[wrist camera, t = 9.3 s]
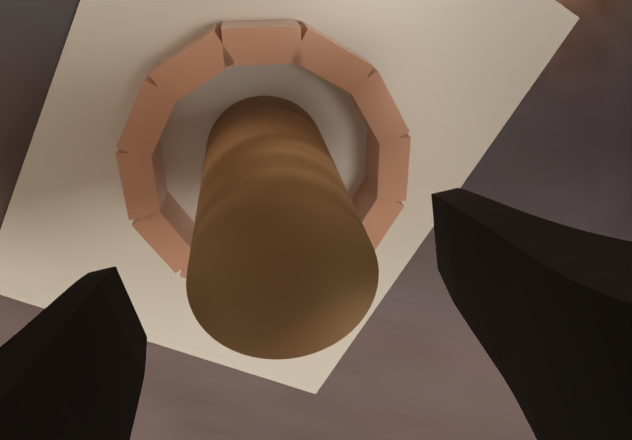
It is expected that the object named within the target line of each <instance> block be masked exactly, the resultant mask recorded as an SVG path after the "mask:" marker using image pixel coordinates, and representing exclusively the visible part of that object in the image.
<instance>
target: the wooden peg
mask: <svg viewBox="0 0 632 440" xmlns="http://www.w3.org/2000/svg"><path fill="white" fill-rule="evenodd" d="M378 279H379V267H378V261H377V256H376V253H375V251H374V248H373V245H372V243H371V241H370V239H369V237H368V234H367V232H366V230H365V228H364V226H363V224H362V222H361V219H360V217H359V215H358V213H357V211H356V209H355V206H354V204H353V202H352V200H351V198H350V196H349V193H348V191H347V189H346V187H345V185H344V183H343V180H342V178H341V176H340V174H339V172H338V170H337V168H336V165H335V163H334V161H333V159H332V157H331V155H330V152H329V150H328V148H327V146H326V144H325V142H324V139H323V137H322V135H321V133H320V131H319V129H318V127H317V125H316V123H315V122H314V120H313V119H312V117H311V116H310V115H309V114H308V113H307V112H306V111H305V110H304V109H302V108H301V107H300V106H298V105H297V104H295V103H293V102H291V101H289V100H287V99H284V98H280V97H275V96H254V97H250V98H246V99H244V100H241V101H239V102H237V103H235V104H233V105H232V106H230V107H229V108H228V109H226V110H225V111H224V112H223V113H222V114H221V115H220V116H219V117H218V119H217V120H216V121H215V123H214V125H213V127H212V128H211V131H210V134H209V137H208V141H207V146H206V153H205V159H204V166H203V172H202V178H201V185H200V191H199V198H198V204H197V211H196V217H195V224H194V230H193V236H192V243H191V249H190V256H189V262H188V269H187V277H186V291H187V297H188V301H189V305H190V308H191V310H192V312H193V315H194V316H195V318H196V320H197V321H198V323H199V324H200V326H201V327H202V328H203V329H204V330H205V331H206V333H208V334H209V335H210V336H211V337H212V338H213V339H214V340H216V341H217V342H219V343H220V344H222V345H223V346H225V347H227V348H229V349H231V350H233V351H235V352H238V353H240V354H243V355H247V356H251V357H255V358H261V359H275V360H280V359H292V358H298V357H303V356H307V355H310V354H313V353H316V352H319V351H321V350H324V349H326V348H328V347H330V346H332V345H334V344H335V343H337V342H338V341H340V340H341V339H343V338H344V337H345V336H347V335H348V334H349V333H350V332H351V331H352V330H353V329H354V328H355V327H356V326H357V325H358V324H359V323H360V322H361V321H362V319H363V318H364V317H365V315H366V314H367V312H368V310H369V309H370V307H371V305H372V303H373V300H374V298H375V295H376V291H377V287H378Z"/></svg>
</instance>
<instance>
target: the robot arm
mask: <svg viewBox="0 0 632 440" xmlns="http://www.w3.org/2000/svg"><path fill="white" fill-rule="evenodd" d="M431 197H432V208H433V220H434V231H435V242H436V254H437V265H438V270H439V272H440V275H441V277H442V279H443V281H444V283H445V285H446V288H447V290H448V292H449V294H450V296H451V298H452V300H453V302H454V304H455V305H456V307H457V308H458V310H459V311H460V313H461V315H462V316H463V318H464V319H465V321H466V322H467V324H468V325H469V327H470V328H471V330H472V331H473V333H474V334H475V336H476V337H477V339H478V340H479V342H480V343H481V345H482V346H483V348H484V349H485V351H486V352H487V354H488V355H489V357H490V358H491V360H492V361H493V363H494V364H495V365H496V367H497V368H498V370H499V371H500V373H501V374H502V376H503V377H504V379H505V381H506V382H507V384H508V386H509V387H510V389H511V391H512V392H513V394H514V396H515V398H516V400H517V402H518V403H519V405H520V407H521V409H522V411H523V413H524V415H525V417H526V419H527V421H528V423H529V425H530V426H531V428H532V430H533V432H534V434H535V436H536V438H537V440H632V242H630V241H625V240H620V239H616V238H611V237H607V236H603V235H598V234H594V233H590V232H586V231H582V230H578V229H575V228H571V227H568V226H565V225H561V224H558V223H555V222H552V221H548V220H545V219H542V218H539V217H537V216H534V215H531V214H528V213H525V212H522V211H520V210H517V209H514V208H512V207H509V206H506V205H504V204H501V203H499V202H496V201H494V200H491V199H488V198H486V197H483V196H481V195H478V194H475V193H473V192H470V191H467V190H464V189H460V188H455V189H450V190H446V191H442V192H437V193H433V194H431ZM146 346H147V336H146V333H145V331H144V329H143V327H142V324H141V322H140V320H139V318H138V315H137V313H136V311H135V309H134V306H133V304H132V302H131V300H130V297H129V295H128V293H127V291H126V288H125V286H124V284H123V282H122V279H121V277H120V275H119V273H118V270H117V268H116V266H115V267H110V268H106V269H102V270H97V271H93V272H89V273H87V274H86V275H84V276H83V277H81V278H80V279H79V280H77V281H76V282H75V283H74V284H73V285H71V286H70V287H69V288H68V289H67V290H66V291H64V292H63V293H62V294H61V295H60V296H59V297H58V298H56V299H55V300H54V301H53V302H52V303H51V304H50V305H49V306H47V307H46V308H45V309H44V310H43V311H42V312H41V313H40V314H38V315H37V316H36V317H35V318H34V319H33V320H32V321H31V322H29V323H28V324H27V325H26V326H25V327H24V328H23V329H22V330H20V331H19V332H18V333H17V334H16V335H14V336H13V337H12V338H11V339H9V340H8V341H7V342H6V343H5V344H3V345H2V346H1V347H0V440H130V436H131V431H132V427H133V423H134V419H135V415H136V410H137V406H138V402H139V397H140V393H141V388H142V384H143V379H144V372H145V361H146Z"/></svg>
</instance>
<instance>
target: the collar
mask: <svg viewBox="0 0 632 440" xmlns="http://www.w3.org/2000/svg"><path fill="white" fill-rule="evenodd" d="M273 64H298V65H300V66H302V67H304V68H305V69H307V70H309V71H311V72H313V73H315V74H316V75H318V76H320V77H322V78H324V79H325V80H327V81H329V82H331V83H333V84H335V85H336V86H338V87H340V88H342V89H344V90H346V91H347V93H348V95H349V96H350V98H351V100H352V102H353V103H354V105H355V107H356V109H357V110H358V112H359V114H360V116H361V118H362V119H363V121H364V123H365V125H366V126H367V143H366V171H365V179H364V181H363V182H362V184H361V186H360V187H359V189H358V190H357V192H356V194H355V195H354V197H353V198H352V202H353V204H354V206H355V209H356V211H357V213H358V215H359V217H360V219H361V222H362V224H363V226H364V228H365V230H366V232H367V234H368V237H369V239H370V241H371V243H372V245H373V248H374V251H375V249H376V248H377V246H378V245H379V243H380V242H381V240H382V239H383V237H384V236H385V234H386V233H387V231H388V230H389V228H390V227H391V225H392V224H393V222H394V221H395V219H396V218H397V216H398V215H399V213H400V212H401V210H402V209H403V207H404V205H403V203H402V202H401V201H406V196H407V183H408V170H409V156H410V143H411V137H410V136H409V135H408V134H407V133H408V132H410V131H409V129H408V127H407V125H406V123H405V122H404V120H403V118H402V116H401V114H400V112H399V110H398V108H397V106H396V104H395V102H394V100H393V99H392V97H391V95H390V93H389V91H388V89H387V87H386V85H385V83H384V81H383V79H382V77H381V76H380V74H379V72H378V70H376V69H375V68H374V67H373V65H372V64H371V63H369V62H368V61H367V60H366V59H364V58H363V57H362V56H361V55H359V54H357V53H356V52H354V51H352V50H351V49H349V48H347V47H345V46H344V45H342V44H340V43H339V42H337V41H335V40H333V39H332V38H330V37H328V36H327V35H325V34H323V33H321V32H320V31H318V30H316V29H315V28H313V27H311V26H309V25H308V24H306V23H304V22H302V21H301V22H300V24H299V23H298V22H297V21H296V20H295V19H285V20H248V21H223V22H222V26H221V30H220V28H219V26H218V25H217V23H216V24H214V25H213V26H211V27H210V28H208V29H207V30H205V31H204V32H202V33H201V34H199V35H198V36H196V37H195V38H194V39H192V40H191V41H189V42H188V43H186V44H185V45H183V46H182V47H180V48H179V49H177V50H176V51H174V52H173V53H171V54H170V55H168V56H167V57H165V58H164V59H162V60H161V61H159V62H158V63H157V64H156V65H155V67H154V68H153V69H152V70H151V71H150V73H149V74H148V75H147V77H146V78H145V79H144V81H143V84H142V86H141V89H140V91H139V93H138V96H137V98H136V101H135V103H134V105H133V108H132V110H131V113H130V115H129V117H128V120H127V122H126V125H125V127H124V129H123V132H122V134H121V137H120V139H119V141H118V144H117V146H116V147H117V148H119V149H118V151H117V152H116V158H117V163H118V168H119V173H120V178H121V183H122V188H123V193H124V199H125V204H126V209H127V214H128V219H129V220H133V223H132V226H133V227H134V229H135V230H136V231H137V232H138V233H139V234H140V235H141V236H142V237H143V238H144V239H145V241H146V242H147V243H148V244H149V245H150V246H151V247H152V248H153V249H154V250H155V252H156V253H157V254H158V255H159V256H160V257H161V258H162V259H163V260H164V261H165V262H166V264H167V265H168V266H169V267H170V268H171V269H172V270H173V271H174V272H175V273H176V272H178V271H179V270H181V274H180V277H183V278H186V277H187V269H188V262H189V256H190V249H191V243H192V236H193V230H194V224H195V223H194V222H193V220H192V219H191V218H190V217H189V216H188V214H187V213H186V212H185V211H184V210H183V208H182V207H181V206H180V205H179V204H178V202H177V201H176V200H175V199H174V198H173V196H172V195H171V194H170V193H169V192H168V190H167V185H166V178H165V172H164V166H163V159H162V153H161V146H160V140H159V138H160V136H161V134H162V132H163V129H164V127H165V125H166V123H167V120H168V118H169V116H170V114H171V111H172V109H173V107H174V105H175V102H176V101H178V100H179V99H181V98H182V97H184V96H185V95H187V94H188V93H190V92H191V91H193V90H195V89H196V88H198V87H199V86H201V85H202V84H204V83H205V82H207V81H208V80H210V79H211V78H213V77H214V76H216V75H217V74H219V73H220V72H222V71H224V70H225V69H227V68H228V67H230V66H246V65H273Z"/></svg>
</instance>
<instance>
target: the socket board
mask: <svg viewBox="0 0 632 440" xmlns="http://www.w3.org/2000/svg"><path fill="white" fill-rule="evenodd" d="M285 19H295V20H296V21H297V22H298V23H299V24H300V22H301V21H302V22H304V23H306V24H308V25H309V26H311V27H313V28H315V29H316V30H318V31H320V32H321V33H323V34H325V35H327V36H328V37H330V38H332V39H333V40H335V41H337V42H339V43H340V44H342V45H344V46H345V47H347V48H349V49H351V50H352V51H354V52H356V53H357V54H359V55H361V56H362V57H363V58H364V59H366V60H367V61H368V62H369V63H371V64H372V65H373V67H374V68H375V69H376V70H378V72H379V74H380V76H381V77H382V79H383V81H384V83H385V85H386V87H387V89H388V91H389V93H390V95H391V97H392V99H393V100H394V102H395V104H396V106H397V108H398V110H399V112H400V114H401V116H402V118H403V120H404V122H405V123H406V125H407V127H408V129H409V131H410V132H408V133H407V134H408V135H409V136H410V137H411V143H410V156H409V170H408V183H407V196H406V201H401V202H402V203H403V205H404V207H403V209H402V210H401V212H400V213H399V215H398V216H397V218H396V219H395V221H394V222H393V224H392V225H391V227H390V228H389V230H388V231H387V233H386V234H385V236H384V237H383V239H382V240H381V242H380V243H379V245H378V246H377V248H376V249H375V253H376V256H377V261H378V267H379V279H378V287H377V291H376V295H375V298H374V300H373V303H372V305H371V307H370V309H369V310H368V312H367V314H366V315H365V317H364V318H363V319H362V321H361V322H360V323H359V324H358V325H357V326H356V327H355V328H354V329H353V330H352V331H351V332H350V333H349V334H348V335H347V336H345V337H344V338H343V339H341V340H340V341H338V342H337V343H335V344H334V345H332V346H330V347H328V348H326V349H324V350H321V351H319V352H316V353H313V354H310V355H307V356H303V357H298V358H292V359H280V360H275V359H261V358H255V357H251V356H247V355H243V354H240V353H238V352H235V351H233V350H231V349H229V348H227V347H225V346H223V345H222V344H220V343H219V342H217V341H216V340H214V339H213V338H212V337H211V336H210V335H209V334H208V333H206V331H205V330H204V329H203V328H202V327H201V326H200V324H199V323H198V321H197V320H196V318H195V316H194V315H193V312H192V310H191V308H190V305H189V301H188V297H187V291H186V278H183V277H180V274H181V270H179V271H178V272H176V273H175V272H174V271H173V270H172V269H171V268H170V267H169V266H168V265H167V264H166V262H165V261H164V260H163V259H162V258H161V257H160V256H159V255H158V254H157V253H156V252H155V250H154V249H153V248H152V247H151V246H150V245H149V244H148V243H147V242H146V241H145V239H144V238H143V237H142V236H141V235H140V234H139V233H138V232H137V231H136V230H135V229H134V227H133V226H132V223H133V220H129V219H128V214H127V209H126V204H125V199H124V193H123V188H122V183H121V178H120V173H119V168H118V163H117V158H116V152H117V151H118V149H119V148H117V147H116V146H117V144H118V141H119V139H120V137H121V134H122V132H123V129H124V127H125V125H126V122H127V120H128V117H129V115H130V113H131V110H132V108H133V105H134V103H135V101H136V98H137V96H138V93H139V91H140V89H141V86H142V84H143V81H144V79H145V78H146V77H147V75H148V74H149V73H150V71H151V70H152V69H153V68H154V67H155V65H156V64H157V63H158V62H159V61H161V60H162V59H164V58H165V57H167V56H168V55H170V54H171V53H173V52H174V51H176V50H177V49H179V48H180V47H182V46H183V45H185V44H186V43H188V42H189V41H191V40H192V39H194V38H195V37H196V36H198V35H199V34H201V33H202V32H204V31H205V30H207V29H208V28H210V27H211V26H213V25H214V24H216V23H217V25H218V26H219V28H220V30H221V26H222V22H223V21H248V20H285ZM578 20H579V17H578V16H576V15H575V14H573V13H572V12H571V11H569V10H568V9H567V8H565V7H564V6H563V5H561V4H560V3H558V2H557V1H556V0H80V3H79V5H78V8H77V11H76V14H75V17H74V20H73V23H72V26H71V28H70V31H69V34H68V37H67V40H66V43H65V46H64V48H63V51H62V54H61V57H60V60H59V63H58V66H57V69H56V71H55V74H54V77H53V80H52V83H51V86H50V89H49V91H48V94H47V97H46V100H45V103H44V106H43V109H42V112H41V114H40V117H39V120H38V123H37V126H36V129H35V132H34V134H33V137H32V140H31V143H30V146H29V149H28V152H27V155H26V157H25V160H24V163H23V166H22V169H21V172H20V175H19V177H18V180H17V183H16V186H15V189H14V192H13V195H12V197H11V200H10V203H9V206H8V209H7V212H6V215H5V218H4V220H3V223H2V226H1V229H0V295H3V296H6V297H9V298H13V299H16V300H19V301H22V302H25V303H28V304H32V305H35V306H38V307H41V308H44V309H45V308H46V307H47V306H49V305H50V304H51V303H52V302H53V301H54V300H55V299H56V298H58V297H59V296H60V295H61V294H62V293H63V292H64V291H66V290H67V289H68V288H69V287H70V286H71V285H73V284H74V283H75V282H76V281H77V280H79V279H80V278H81V277H83V276H84V275H86V274H87V273H89V272H93V271H97V270H102V269H106V268H110V267H115V266H116V268H117V270H118V273H119V275H120V277H121V279H122V282H123V284H124V286H125V288H126V291H127V293H128V295H129V297H130V300H131V302H132V304H133V306H134V309H135V311H136V313H137V315H138V318H139V320H140V322H141V324H142V327H143V329H144V331H145V333H146V336H147V341H149V342H152V343H155V344H158V345H162V346H165V347H168V348H171V349H174V350H178V351H181V352H184V353H187V354H190V355H193V356H197V357H200V358H203V359H206V360H209V361H212V362H216V363H219V364H222V365H225V366H228V367H231V368H235V369H238V370H241V371H244V372H247V373H250V374H254V375H257V376H260V377H263V378H266V379H270V380H273V381H276V382H279V383H282V384H285V385H289V386H292V387H295V388H298V389H301V390H304V391H308V392H311V393H314V394H316V393H317V391H318V390H319V388H320V387H321V386H322V384H323V383H324V381H325V380H326V378H327V377H328V376H329V374H330V373H331V371H332V370H333V369H334V367H335V366H336V364H337V363H338V361H339V360H340V359H341V357H342V356H343V354H344V353H345V351H346V350H347V349H348V347H349V346H350V344H351V343H352V341H353V340H354V339H355V337H356V336H357V334H358V333H359V331H360V330H361V329H362V327H363V326H364V324H365V323H366V322H367V320H368V319H369V317H370V316H371V314H372V313H373V312H374V310H375V309H376V307H377V306H378V304H379V303H380V302H381V300H382V299H383V297H384V296H385V294H386V293H387V292H388V290H389V289H390V287H391V286H392V284H393V283H394V282H395V280H396V279H397V277H398V276H399V275H400V273H401V272H402V270H403V269H404V267H405V266H406V265H407V263H408V262H409V260H410V259H411V257H412V256H413V255H414V253H415V252H416V250H417V249H418V247H419V246H420V245H421V243H422V242H423V240H424V239H425V237H426V236H427V235H428V233H429V232H430V230H431V229H432V228H433V226H434V220H433V208H432V197H431V194H433V193H437V192H442V191H446V190H450V189H455V188H461V186H462V185H463V183H464V182H465V181H466V179H467V178H468V176H469V175H470V173H471V172H472V171H473V169H474V168H475V166H476V165H477V163H478V162H479V161H480V159H481V158H482V156H483V155H484V153H485V152H486V151H487V149H488V148H489V146H490V145H491V143H492V142H493V141H494V139H495V138H496V136H497V135H498V134H499V132H500V131H501V129H502V128H503V126H504V125H505V124H506V122H507V121H508V119H509V118H510V116H511V115H512V114H513V112H514V111H515V109H516V108H517V106H518V105H519V104H520V102H521V101H522V99H523V98H524V96H525V95H526V94H527V92H528V91H529V89H530V88H531V87H532V85H533V84H534V82H535V81H536V79H537V78H538V77H539V75H540V74H541V72H542V71H543V69H544V68H545V67H546V65H547V64H548V62H549V61H550V59H551V58H552V57H553V55H554V54H555V52H556V51H557V49H558V48H559V47H560V45H561V44H562V42H563V41H564V40H565V38H566V37H567V35H568V34H569V32H570V31H571V30H572V28H573V27H574V25H575V24H576V22H577V21H578ZM254 96H275V97H280V98H284V99H287V100H289V101H291V102H293V103H295V104H297V105H298V106H300V107H301V108H302V109H304V110H305V111H306V112H307V113H308V114H309V115H310V116H311V117H312V119H313V120H314V122H315V123H316V125H317V127H318V129H319V131H320V133H321V135H322V137H323V139H324V142H325V144H326V146H327V148H328V150H329V152H330V155H331V157H332V159H333V161H334V163H335V165H336V168H337V170H338V172H339V174H340V176H341V178H342V180H343V183H344V185H345V187H346V189H347V191H348V193H349V196H350V198H351V200H352V198H353V197H354V195H355V194H356V192H357V190H358V189H359V187H360V186H361V184H362V182H363V181H364V179H365V171H366V143H367V126H366V125H365V123H364V121H363V119H362V118H361V116H360V114H359V112H358V110H357V109H356V107H355V105H354V103H353V102H352V100H351V98H350V96H349V95H348V93H347V91H346V90H344V89H342V88H340V87H338V86H336V85H335V84H333V83H331V82H329V81H327V80H325V79H324V78H322V77H320V76H318V75H316V74H315V73H313V72H311V71H309V70H307V69H305V68H304V67H302V66H300V65H298V64H273V65H246V66H230V67H228V68H227V69H225V70H224V71H222V72H220V73H219V74H217V75H216V76H214V77H213V78H211V79H210V80H208V81H207V82H205V83H204V84H202V85H201V86H199V87H198V88H196V89H195V90H193V91H191V92H190V93H188V94H187V95H185V96H184V97H182V98H181V99H179V100H178V101H176V102H175V105H174V107H173V109H172V111H171V114H170V116H169V118H168V120H167V123H166V125H165V127H164V129H163V132H162V134H161V136H160V138H159V140H160V146H161V153H162V159H163V166H164V172H165V178H166V185H167V190H168V192H169V193H170V194H171V195H172V196H173V198H174V199H175V200H176V201H177V202H178V204H179V205H180V206H181V207H182V208H183V210H184V211H185V212H186V213H187V214H188V216H189V217H190V218H191V219H192V220H193V222H194V223H195V217H196V211H197V204H198V198H199V191H200V185H201V178H202V172H203V166H204V159H205V153H206V146H207V141H208V137H209V134H210V131H211V128H212V127H213V125H214V123H215V121H216V120H217V119H218V117H219V116H220V115H221V114H222V113H223V112H224V111H225V110H226V109H228V108H229V107H230V106H232V105H233V104H235V103H237V102H239V101H241V100H244V99H246V98H250V97H254Z"/></svg>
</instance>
